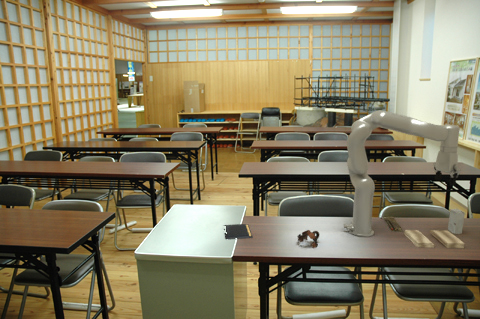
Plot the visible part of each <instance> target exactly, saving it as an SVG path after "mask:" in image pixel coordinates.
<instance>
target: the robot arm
mask: <svg viewBox="0 0 480 319" xmlns="http://www.w3.org/2000/svg"><path fill="white" fill-rule="evenodd" d="M377 128H382V129H386V130H390V131H394V132H397V133H401V134H405V135H410V136H414V137H415V136H416V137H420V138H424V139H427V140H431V141H435V142H440V146H439V150H438V152H437V155H436V161H435V162H434V163H432V165H433V169H434V172H435V177H434V180H435V181H441V180H442V177H443V175H442V174H443V173H446V174H449V175H450V177H449V183H448V185H449V186H455V185H456V184H457V178H458V177H459V176H460V174H461V173H462V169H460V167H459V166H458V164H459V162H458V161H459V160H458V146H459V138H460V126H458V125H454V124H445V125H441V124H440V125H439V124H434V123H431V122H426V121H423V120H419V119H417V118H413V117H411V116H407V115H403V114H398V113H396V112H395V113H394V112H390V111H387V110H380V109H379V110H375V111H373V112H372V113H369V114H368V115H367V114H366V115H364V117H361V118H359V119H357V120H356V121H354V122H353V123H352V125H351V128H350V130H351V132H350V134H349V136H348V138H347V141H346V147H347V149H346V150H347V154H348V158H347V160H346V161H347V162H346V164H347V165H346V166H347V170H348V173H349V178H350V182H351V184H352V186H353V187H354V195H353V209H352V211H353V212H352V222H350V223H349V224H343V229H346V230H348V232H349V233H350V234H352V235H354V236H356V237H363V238H366V237H367V238H369V237H372V236H374V234H375V231H374V230H373V229H372V218H373V202H374V194H375V188H376V186H375V181H374V180H373V179H372V177H370V176H369V175H368V174H369V173H368V171H369V165H370V164H369V160H368V157H367V152H366V148H365V143H366V140H367V139H369V137H370V136H371V134H372V132H373V131H374V130H376V129H377ZM442 172H443V173H442Z"/></svg>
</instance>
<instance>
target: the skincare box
mask: <svg viewBox="0 0 480 319" xmlns="http://www.w3.org/2000/svg"><path fill="white" fill-rule="evenodd" d="M465 213H466V212H464V211H463V210H460V209H458V208H450V211H449V218H448V224H447V230H448V231H449V232H450V233H452V234H453V235H460V234H462V233H463V226H464V221H465Z"/></svg>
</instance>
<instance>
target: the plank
mask: <svg viewBox="0 0 480 319" xmlns="http://www.w3.org/2000/svg"><path fill="white" fill-rule="evenodd" d="M404 235H405V236H406V237H407V238H408V240H410V241H411V242H412V243H413V245H414V246H415V247H416V248H426V249H427V248H429V249H431V248H434V249H435V244H434V243H433V242H432V241H431V240H429V238H428V237H427V236H425V235H424V234H423V233H422V232H421V231H419V229H418V230H416V229H405V230H404Z"/></svg>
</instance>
